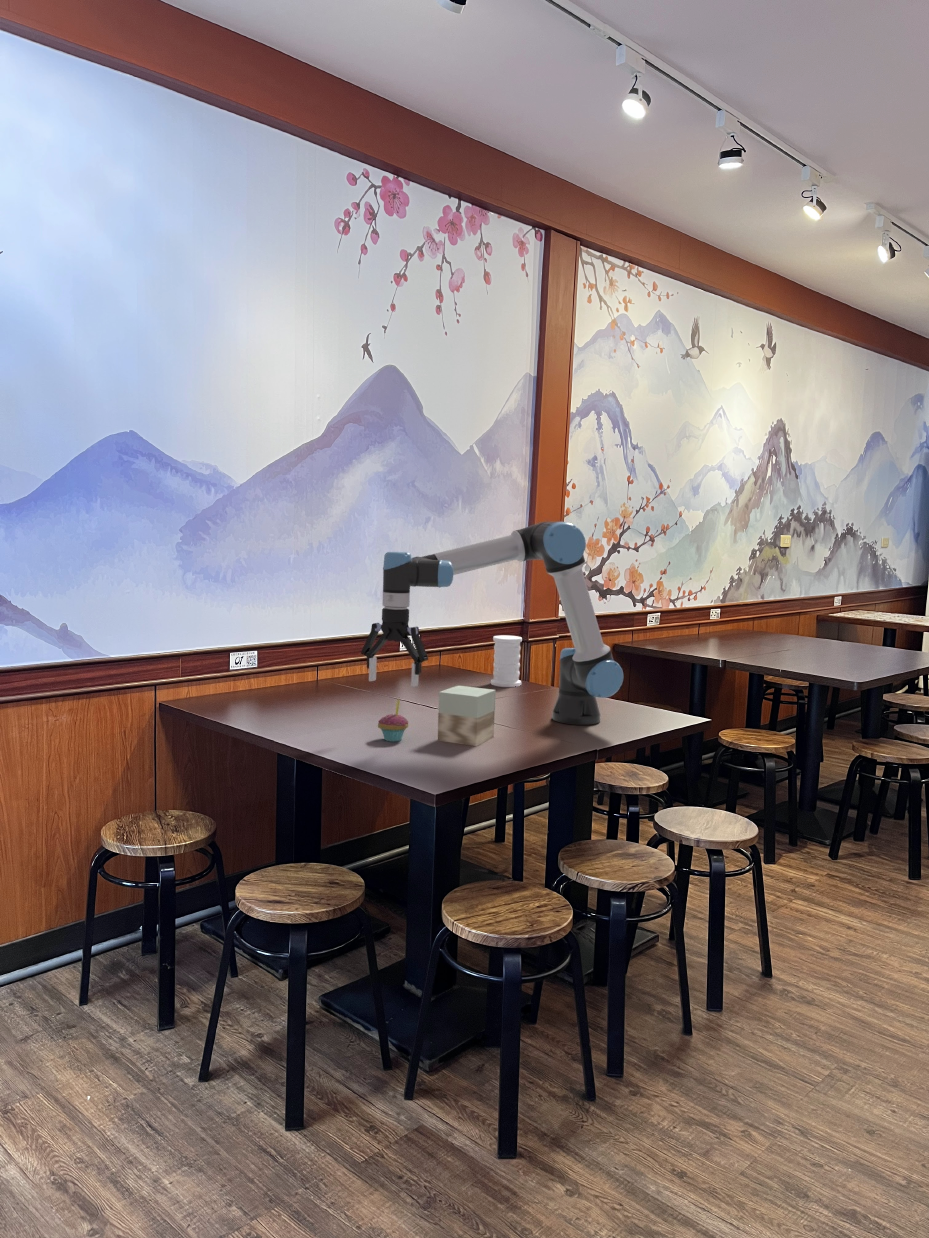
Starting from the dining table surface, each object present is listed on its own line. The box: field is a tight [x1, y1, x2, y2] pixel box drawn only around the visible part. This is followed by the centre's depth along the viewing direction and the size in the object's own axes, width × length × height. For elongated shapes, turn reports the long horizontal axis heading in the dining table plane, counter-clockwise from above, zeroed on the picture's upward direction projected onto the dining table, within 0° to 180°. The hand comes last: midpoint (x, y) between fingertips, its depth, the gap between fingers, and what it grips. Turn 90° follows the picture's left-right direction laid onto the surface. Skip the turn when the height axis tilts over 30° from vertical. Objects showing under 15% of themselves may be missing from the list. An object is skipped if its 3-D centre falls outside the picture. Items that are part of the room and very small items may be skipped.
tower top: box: [438, 685, 497, 718], centre depth 261 cm, size 12×12×6 cm
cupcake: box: [377, 698, 409, 742], centre depth 258 cm, size 9×8×12 cm
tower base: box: [437, 710, 496, 747], centre depth 262 cm, size 12×12×8 cm
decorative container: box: [490, 634, 523, 688], centre depth 349 cm, size 12×12×18 cm
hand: (393, 683), depth 257 cm, fingers open, 13 cm apart
